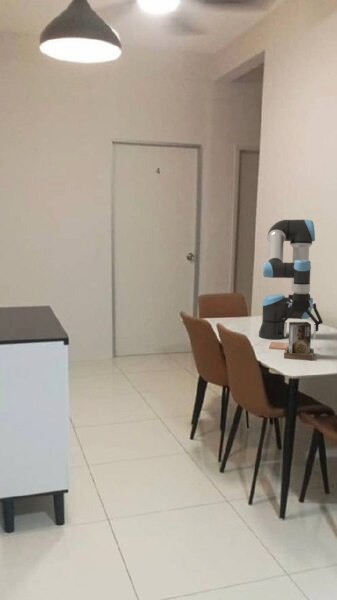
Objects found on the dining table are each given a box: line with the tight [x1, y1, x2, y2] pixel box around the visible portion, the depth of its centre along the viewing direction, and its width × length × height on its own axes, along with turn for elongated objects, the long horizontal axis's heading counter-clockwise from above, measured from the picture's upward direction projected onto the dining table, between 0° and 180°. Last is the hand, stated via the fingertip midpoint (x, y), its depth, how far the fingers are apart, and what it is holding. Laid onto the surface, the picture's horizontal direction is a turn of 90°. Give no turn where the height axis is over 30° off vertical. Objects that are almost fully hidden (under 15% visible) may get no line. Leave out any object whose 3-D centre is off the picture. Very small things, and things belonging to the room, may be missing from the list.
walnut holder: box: [283, 347, 315, 361], centre depth 248 cm, size 13×13×2 cm
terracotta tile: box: [268, 341, 289, 351], centre depth 265 cm, size 11×11×1 cm
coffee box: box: [288, 321, 312, 355], centre depth 247 cm, size 9×6×16 cm
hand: (299, 337), depth 246 cm, fingers open, 13 cm apart
